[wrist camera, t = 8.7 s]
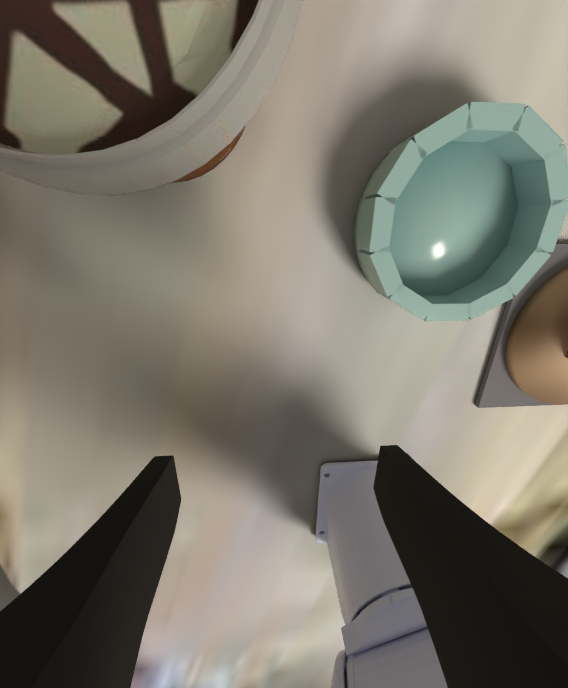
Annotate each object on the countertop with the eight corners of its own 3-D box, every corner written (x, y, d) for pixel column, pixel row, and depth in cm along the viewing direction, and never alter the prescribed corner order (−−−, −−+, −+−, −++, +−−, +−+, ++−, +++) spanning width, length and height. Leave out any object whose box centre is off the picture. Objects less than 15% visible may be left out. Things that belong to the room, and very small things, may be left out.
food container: (17, 166, 15) (-379, 77, 6) (9, 8, 13) (-665, -561, 3) (254, 234, 17) (247, 249, 8) (282, 109, 15) (318, -81, 5)
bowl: (491, 305, 20) (529, 319, 17) (346, 307, 19) (361, 322, 16) (544, 126, 16) (603, 107, 13) (364, 120, 15) (387, 98, 12)
